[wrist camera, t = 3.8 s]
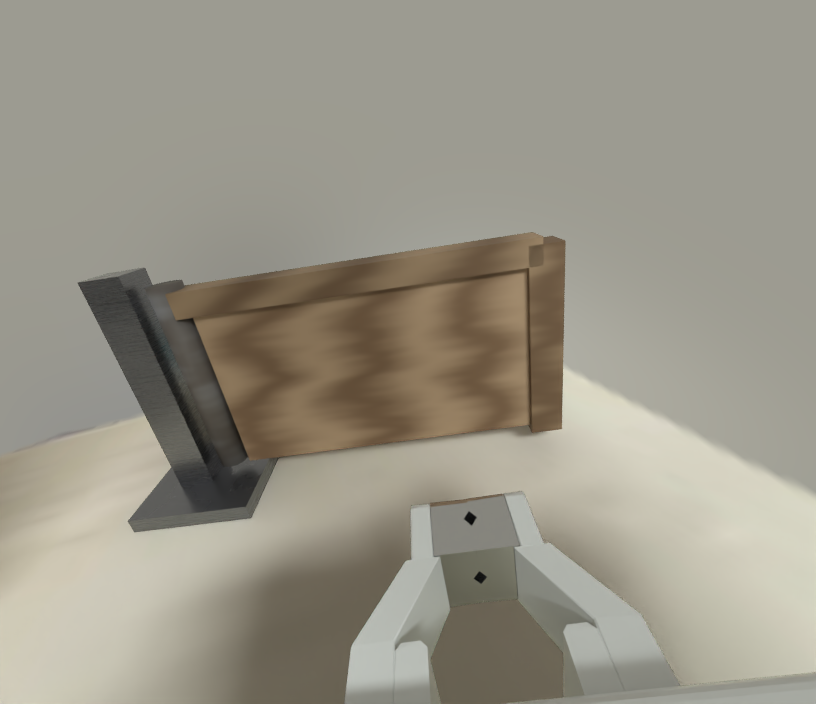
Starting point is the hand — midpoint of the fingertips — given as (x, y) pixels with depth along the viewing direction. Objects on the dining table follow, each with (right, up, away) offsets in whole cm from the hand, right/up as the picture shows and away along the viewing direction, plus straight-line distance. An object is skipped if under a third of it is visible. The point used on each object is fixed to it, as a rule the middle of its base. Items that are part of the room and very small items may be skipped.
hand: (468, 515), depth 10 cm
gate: (-3, -2, +17) cm, 18 cm away
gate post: (-16, -5, +19) cm, 25 cm away
